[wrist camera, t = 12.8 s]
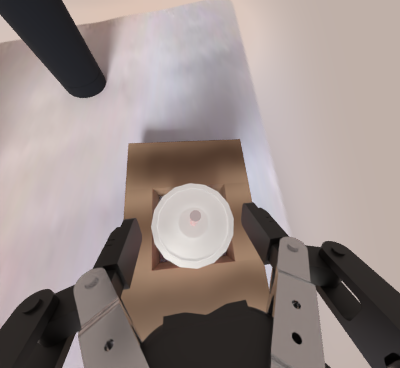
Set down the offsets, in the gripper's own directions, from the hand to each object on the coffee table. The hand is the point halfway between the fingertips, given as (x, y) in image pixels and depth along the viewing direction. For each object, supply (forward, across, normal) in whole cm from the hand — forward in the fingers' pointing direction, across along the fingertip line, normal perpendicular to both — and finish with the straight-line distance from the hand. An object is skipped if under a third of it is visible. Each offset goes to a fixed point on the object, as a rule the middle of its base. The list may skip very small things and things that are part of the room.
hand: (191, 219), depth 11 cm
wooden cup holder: (+6, 0, +6) cm, 9 cm away
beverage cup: (+6, 0, +6) cm, 9 cm away
